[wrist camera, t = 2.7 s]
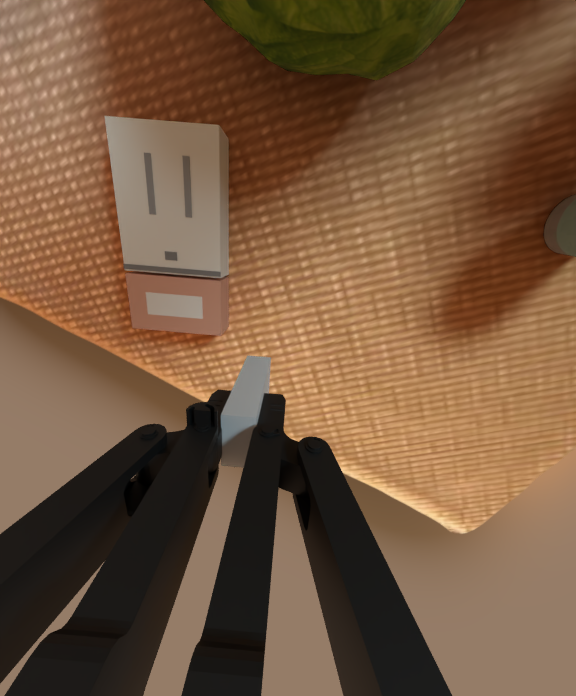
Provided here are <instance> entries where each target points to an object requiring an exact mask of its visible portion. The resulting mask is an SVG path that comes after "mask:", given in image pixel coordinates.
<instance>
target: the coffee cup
mask: <svg viewBox="0 0 576 696" xmlns="http://www.w3.org/2000/svg"><path fill="white" fill-rule="evenodd" d="M544 239H545V242H546V244H547V246H548V247H549V248H550V249H551V250H552V251H554V252H556V253H559V254H565V255H570V256H575V257H576V194H575V195H572V196H570V197H568V198H566V199H565V200H563V201H562V202H561V203H559V204H558V205H557V206H556V207H555V209H554V210H553V211H552V212H551V214H550V215H549V217H548V219H547V221H546V224H545V228H544Z"/></svg>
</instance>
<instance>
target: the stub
mask: <svg viewBox="0 0 576 696" xmlns="http://www.w3.org/2000/svg"><path fill="white" fill-rule="evenodd" d="M125 276H126V283H127V291H128V298H129V306H130V314H131V321H132V328H136V329H148V330H159V331H171V332H182V333H194V334H205V335H217V336H221V335H222V334H223V333H224V332H225V331H226V329H227V328H228V327H229V277H222V278H211V277H200V276H188V275H176V274H164V273H152V272H140V271H134V272H129V273H125Z"/></svg>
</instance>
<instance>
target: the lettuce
mask: <svg viewBox="0 0 576 696" xmlns="http://www.w3.org/2000/svg"><path fill="white" fill-rule="evenodd" d="M204 1H205V2H206V3H207V4H208V5H209V7H210V8H211V9H212V10H213V11H214V12H215V13H216V14H217V15H218V16H219V17H220V18H221V20H222V21H223V22H225V23H226V24H227V25H229V26H230V27H231V28H233V29H234V30H235V31H237V32H238V33H239V34H241V35H242V36H243V37H245V38H246V39H247V40H248V41H249V42H250V43H251V44H252V45H253V46H254V47H255V48H256V49H257V50H258V51H259V52H260V53H261V54H262V55H264V56H265V57H266V58H267V59H268V60H269V61H271V62H273V63H274V64H276V65H278V66H280V67H282V68H284V69H285V70H287V71H293V72H300V73H306V74H313V75H328V74H351V75H355V76H360V77H364V78H368V79H373V80H379V79H381V78H383V77H385V76H387V75H389V74H390V73H392V72H394V71H396V70H398V69H400V68H402V67H404V66H406V65H408V64H410V63H412V62H413V61H415V60H416V59H417V58H418V57H419V56H420V55H421V54H422V53H423V52H424V51H425V50H426V49H427V47H428V46H429V45H430V44H431V43H432V42H433V41H434V40H435V39H436V37H437V36H438V35H439V34H440V33H441V32H442V31H443V30H444V29H445V28H446V26H447V25H448V24H449V23H450V22H451V21H452V20H453V19H454V17H455V16H456V14H457V13H458V11H459V10H460V8H461V7H462V6H463V4H464V2H465V1H466V0H204Z"/></svg>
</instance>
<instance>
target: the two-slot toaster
mask: <svg viewBox="0 0 576 696" xmlns="http://www.w3.org/2000/svg"><path fill="white" fill-rule="evenodd" d="M105 123H106V131H107V139H108V146H109V154H110V161H111V169H112V177H113V184H114V192H115V199H116V207H117V215H118V222H119V230H120V238H121V245H122V253H123V260H124V264H123V265H124V269H125V270H128V271H140V272H152V273H164V274H176V275H188V276H200V277H211V278H222V277H224V276H227V275H229V139H228V137H227V136H226V134H225V133H224V131H223V130H222V129H221V127H220V126H219V125H214V124H201V123H188V122H176V121H163V120H151V119H138V118H126V117H113V116H105Z"/></svg>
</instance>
